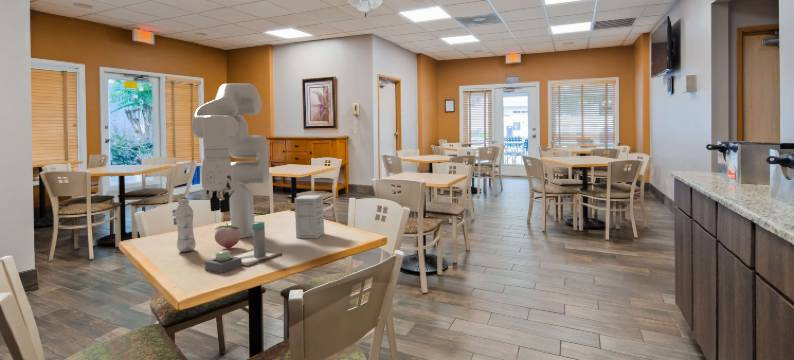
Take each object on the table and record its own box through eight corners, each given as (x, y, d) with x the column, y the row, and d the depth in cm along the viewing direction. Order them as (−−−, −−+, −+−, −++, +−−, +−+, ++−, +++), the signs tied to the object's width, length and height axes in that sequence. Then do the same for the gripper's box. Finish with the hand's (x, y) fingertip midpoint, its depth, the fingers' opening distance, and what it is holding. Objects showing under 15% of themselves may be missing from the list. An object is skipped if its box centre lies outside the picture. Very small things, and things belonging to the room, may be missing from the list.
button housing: (205, 270, 148) (204, 261, 148) (225, 263, 155) (224, 254, 155) (221, 273, 144) (221, 264, 144) (241, 266, 151) (241, 258, 151)
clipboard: (218, 261, 158) (218, 258, 158) (254, 250, 171) (253, 247, 171) (247, 267, 151) (247, 264, 151) (281, 255, 165) (281, 252, 164)
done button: (213, 260, 149) (212, 252, 148) (224, 257, 152) (223, 249, 152) (222, 262, 146) (221, 254, 146) (233, 258, 150) (232, 251, 150)
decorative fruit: (243, 245, 180) (241, 220, 178) (239, 250, 171) (238, 224, 170) (217, 246, 178) (216, 221, 177) (213, 252, 170) (211, 225, 169)
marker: (251, 257, 160) (249, 223, 159) (260, 254, 164) (258, 221, 162) (259, 258, 158) (258, 224, 157) (268, 255, 162) (266, 222, 160)
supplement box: (324, 233, 197) (323, 194, 195) (317, 238, 188) (316, 198, 186) (303, 232, 199) (302, 194, 196) (295, 238, 189) (293, 198, 187)
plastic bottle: (177, 254, 167) (173, 200, 165) (177, 250, 173) (173, 198, 171) (196, 252, 170) (193, 199, 168) (195, 248, 176) (192, 196, 174)
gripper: (189, 154, 146) (193, 211, 148) (225, 155, 138) (228, 215, 140) (209, 153, 153) (212, 207, 155) (244, 154, 144) (247, 211, 147)
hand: (220, 210), depth 148 cm, fingers open, 3 cm apart
